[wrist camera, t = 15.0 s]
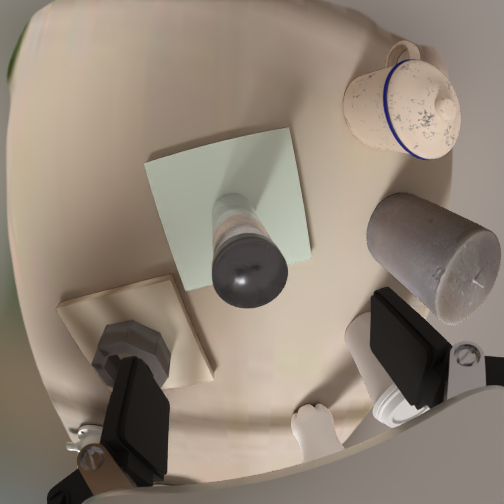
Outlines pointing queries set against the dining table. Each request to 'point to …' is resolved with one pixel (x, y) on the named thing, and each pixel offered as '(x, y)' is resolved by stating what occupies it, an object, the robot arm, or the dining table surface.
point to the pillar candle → (435, 254)
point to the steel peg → (244, 255)
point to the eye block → (138, 332)
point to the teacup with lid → (404, 107)
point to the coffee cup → (377, 377)
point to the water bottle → (315, 432)
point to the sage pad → (224, 182)
